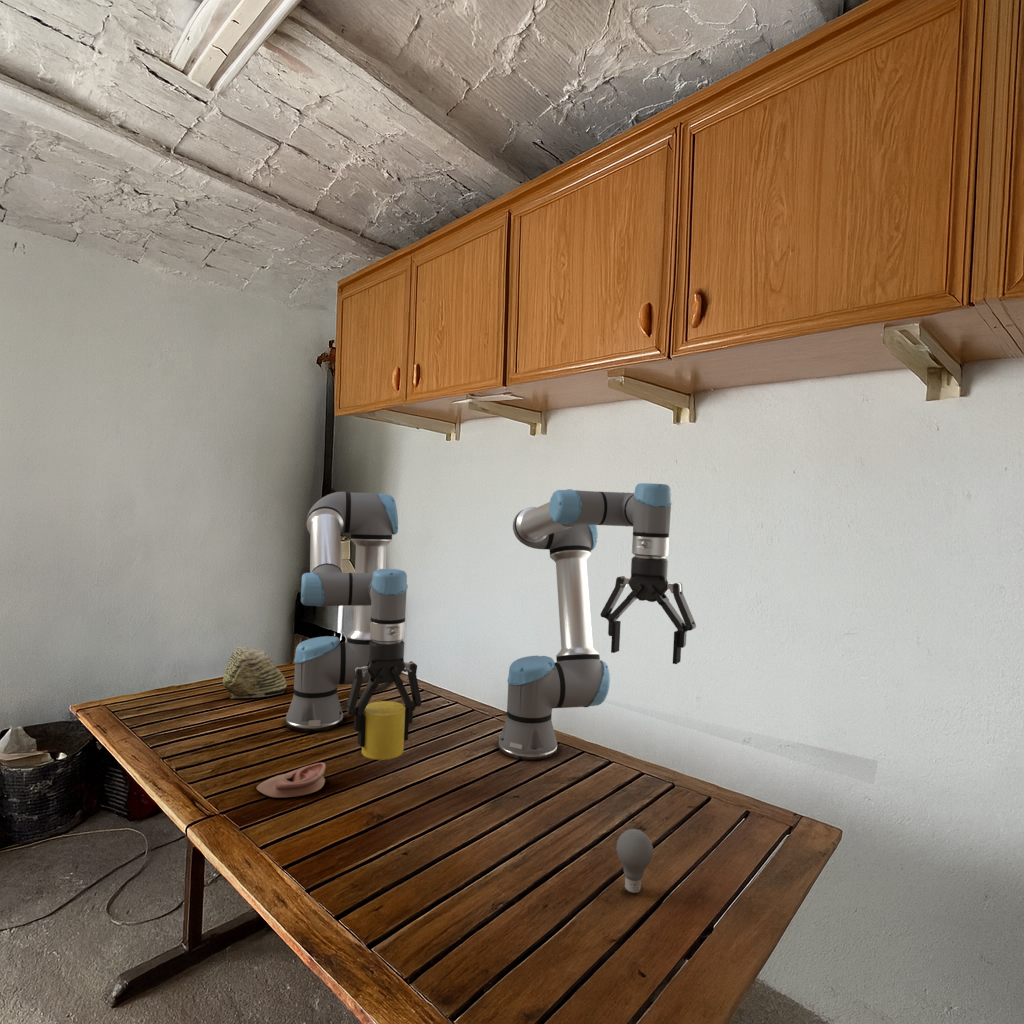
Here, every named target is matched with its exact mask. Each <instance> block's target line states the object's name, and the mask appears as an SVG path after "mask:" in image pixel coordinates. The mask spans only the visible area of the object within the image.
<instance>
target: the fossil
mask: <svg viewBox="0 0 1024 1024" xmlns="http://www.w3.org/2000/svg"><path fill="white" fill-rule="evenodd" d="M222 676H223V677H222V685H223V687H224V688H225V690H226V691H228V693H229V698H230V699H250V698H264V697H271V696H275V695H281V694H284V693H285V691H286V689H287V687H288V686H287V680H286V678H285V676H284V674H283V673H282V672H281V669H279V668H278V667H277V665H276V663H275V662H274V660H273V659H272V658H271V657H270V656H269V655H268V654H267V653H266V652H265V650H264V649H263V648H260V647H258V648H251V647H247V646H246V647H245V646H238V647H237V648H236V649H235V650H233V651H232V653H231V656H230V657H229V659H228V660H227V663H226V666H225V668H224V671H223V675H222Z"/></svg>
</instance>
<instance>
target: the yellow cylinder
mask: <svg viewBox="0 0 1024 1024" xmlns="http://www.w3.org/2000/svg"><path fill="white" fill-rule="evenodd" d="M405 708H406V706H405V704H404V703H400V702H397V701H390V700H382V701H381V700H380V701H373V702H370V703H368V704H367V706H366V708H365V710H364V712H363V714H364V716H365V741H364V747H361V754H362V756H363V757H365V758H367V759H369V760H379V761H383V760H392V759H395V758H398V757H400V756H401V755H402V754H404V752H405V751H404V750H405V740H404V730H405Z"/></svg>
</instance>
